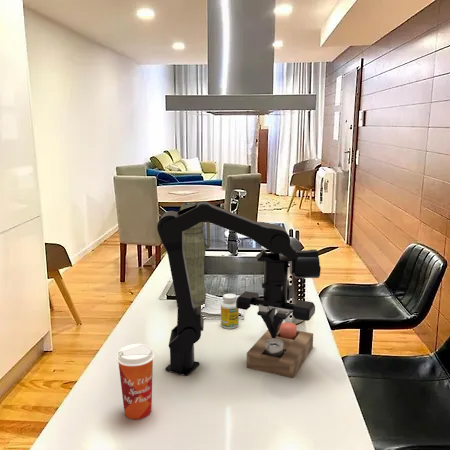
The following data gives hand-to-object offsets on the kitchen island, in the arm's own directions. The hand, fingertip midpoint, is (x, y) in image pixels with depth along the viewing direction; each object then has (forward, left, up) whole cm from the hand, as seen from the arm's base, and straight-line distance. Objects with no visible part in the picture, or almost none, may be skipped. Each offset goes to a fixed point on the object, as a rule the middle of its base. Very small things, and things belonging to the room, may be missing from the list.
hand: (274, 337), depth 117 cm
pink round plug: (+11, 0, -4) cm, 12 cm away
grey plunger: (0, 0, -5) cm, 5 cm away
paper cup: (-30, +19, -8) cm, 37 cm away
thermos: (+27, +38, -8) cm, 47 cm away
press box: (+6, 0, -8) cm, 10 cm away
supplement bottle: (+18, +20, -8) cm, 28 cm away
